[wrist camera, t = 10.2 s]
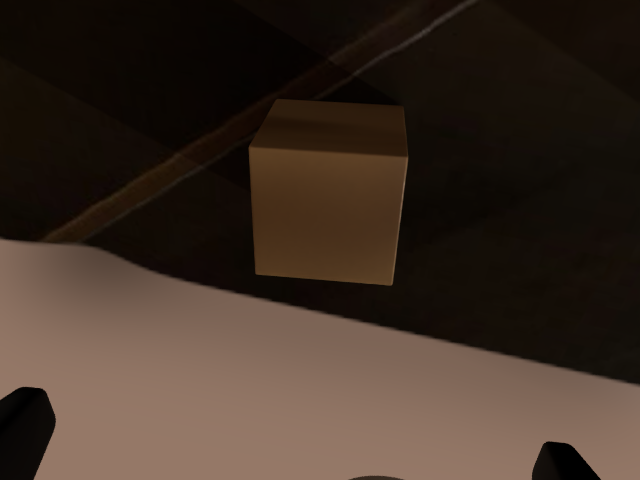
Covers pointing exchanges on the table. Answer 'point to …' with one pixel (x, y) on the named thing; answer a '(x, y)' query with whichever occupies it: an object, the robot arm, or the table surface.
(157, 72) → the table surface
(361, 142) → the block
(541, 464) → the robot arm
